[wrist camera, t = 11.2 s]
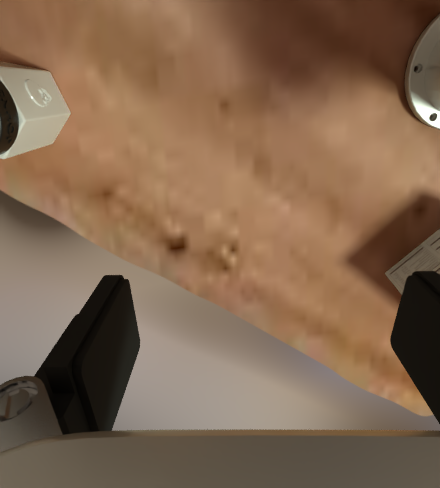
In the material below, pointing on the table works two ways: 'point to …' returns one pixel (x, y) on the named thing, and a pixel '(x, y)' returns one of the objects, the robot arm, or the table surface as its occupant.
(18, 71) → the jar
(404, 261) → the supplement box
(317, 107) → the table surface
